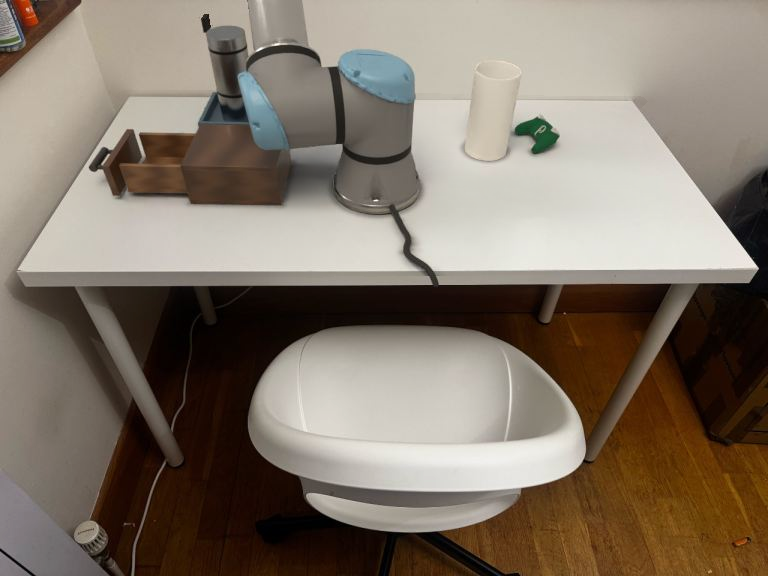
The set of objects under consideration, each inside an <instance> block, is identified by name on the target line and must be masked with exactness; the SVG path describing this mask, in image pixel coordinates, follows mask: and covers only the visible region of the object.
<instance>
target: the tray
mask: <svg viewBox="0 0 768 576" xmlns="http://www.w3.org/2000/svg"><path fill="white" fill-rule="evenodd" d="M200 124H209V125H250V124H249V122H225V121H224V120H223V118H222V113H221V108H220V103H219V98H218V93H217V91H213V92H212V94H211V95H210V97H209V99H208V101H207V102H206V105H205V107H204V109H203V111H202V113H201V115H200V117H199V119H198V121H197V126H198V128H199V126H200Z"/></svg>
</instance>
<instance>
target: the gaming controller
mask: <svg viewBox="0 0 768 576" xmlns="http://www.w3.org/2000/svg"><path fill="white" fill-rule="evenodd" d="M514 133H515V134H516V135H527V134H531V136H532V137H533V138H534V139H535V140H536V142H535V143H534V144H533V146H532V147H531V149H530V151H531V152H532V153H534V154H537V153H540V152H543V151H546V150H547V149H549V148H551V147H552V146H553V145H554V144H556V143H557V141H558V140H559V138H560V132H559V131H558V130H557V128H555V127H554V126H553V125H552V124H551V123H550V122H548V121H547V119H546V118H545V117H544V115H542V114H541V113H539V114H538V115H537V116H535V117H534V118H532V119H529V120H526V121H522V122H520V123H518V124H517V125H515V128H514Z"/></svg>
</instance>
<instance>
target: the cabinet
mask: <svg viewBox="0 0 768 576" xmlns="http://www.w3.org/2000/svg"><path fill="white" fill-rule="evenodd" d="M195 133H196V134H195V136H194V138H193V141H192V143H191V145H190V147H189V149H188V151H187V153H186V155H185V157H184V159H183V161H182V163H181V165H180V166H181V169H182V174H183V177H184V181H185V185H186V188H187V192H188V193H187V196H188V200H189V203H190V204H193V205H233V206H234V205H236V206H237V205H239V206H240V205H241V206H242V205H243V206H282V204H283V200H284V196H285V191H286V187H287V183H288V179H289V178H288V177H289V174H290V170H291V166H292V156H291V149H289V150H264V149H261V148H259V147H258V146H257V145H256V143H255V141H254V138H253V135H252V131H251V128H250V125H209V124H200V126H199V127H198V128H197V130H196V132H195Z"/></svg>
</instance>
